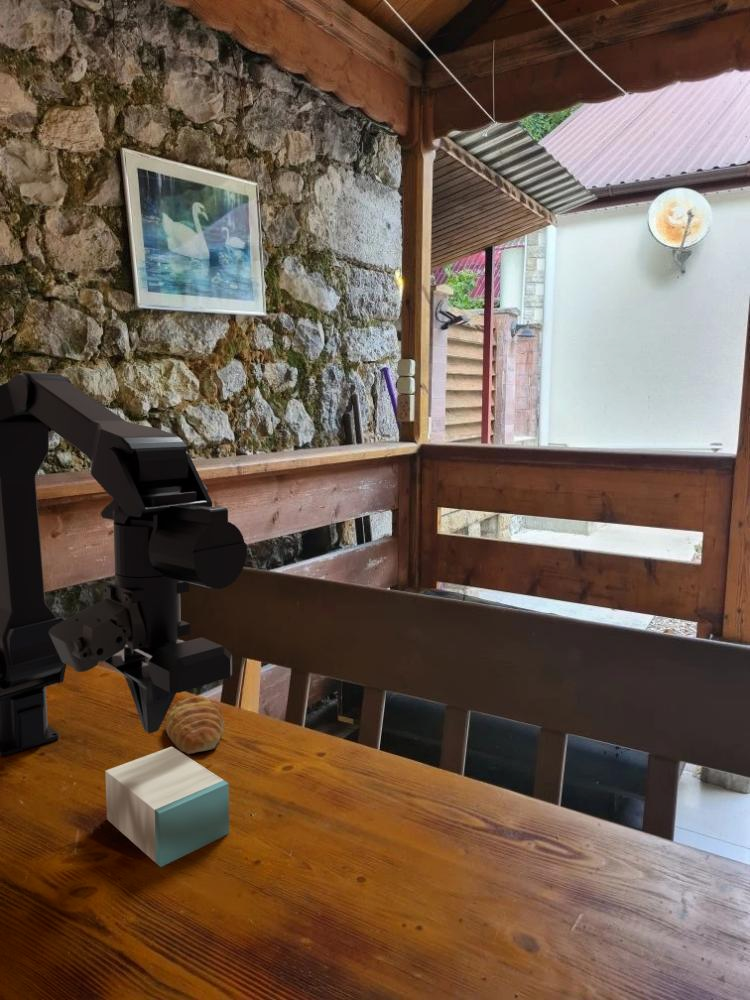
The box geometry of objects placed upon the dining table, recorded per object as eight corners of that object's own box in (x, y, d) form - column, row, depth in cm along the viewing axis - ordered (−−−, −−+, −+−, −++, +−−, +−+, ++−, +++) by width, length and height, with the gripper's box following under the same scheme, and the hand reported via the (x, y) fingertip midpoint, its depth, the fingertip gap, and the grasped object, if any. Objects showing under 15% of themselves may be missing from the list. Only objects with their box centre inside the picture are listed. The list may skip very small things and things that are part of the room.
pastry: (232, 752, 82) (231, 721, 82) (171, 762, 80) (170, 730, 79) (218, 719, 91) (217, 690, 90) (163, 727, 88) (162, 698, 88)
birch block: (105, 770, 68) (159, 813, 61) (171, 746, 73) (228, 783, 66) (107, 820, 68) (160, 867, 61) (172, 792, 73) (229, 834, 66)
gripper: (17, 566, 66) (25, 726, 68) (112, 608, 54) (117, 802, 56) (129, 550, 74) (133, 693, 77) (235, 583, 62) (236, 754, 64)
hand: (151, 731), depth 68 cm, fingers closed
